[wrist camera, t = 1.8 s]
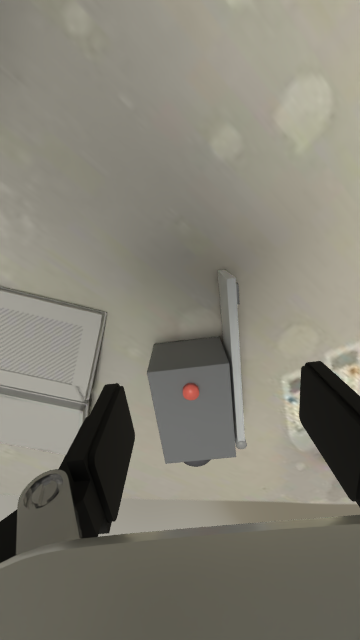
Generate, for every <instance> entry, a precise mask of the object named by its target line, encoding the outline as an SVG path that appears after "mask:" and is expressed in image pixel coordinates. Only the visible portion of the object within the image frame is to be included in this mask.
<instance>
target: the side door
mask: <svg viewBox="0 0 360 640" xmlns="http://www.w3.org/2000/svg"><path fill="white" fill-rule="evenodd" d="M218 282H219V295H220V307H221V320H222V332H223V345H224V351H225V354H226V356H227V359H228V362H229V368H230V381H231V395H232V409H233V423H234V436H235V443H236V447H237V448H238V449H244V448H245V447H246V446H247V443H246V440H245V435H244V417H243V399H242V381H241V363H240V345H239V327H238V308H237V304H239V286H238V283H237V282H236V278H235V277H234V276H233V275H232V274H230V273H229V272H228V271H226V270H225V269H224V270H218Z"/></svg>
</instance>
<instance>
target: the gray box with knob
mask: <svg viewBox="0 0 360 640" xmlns="http://www.w3.org/2000/svg"><path fill="white" fill-rule="evenodd" d="M147 375H148V380H149V385H150V390H151V395H152V400H153V404H154V409H155V414H156V419H157V424H158V429H159V434H160V439H161V444H162V449H163V453H164V458H165V463H166V464H167V463H178V462H184V463H185V464H187V465H189V466H194V467H198V466H202V465H205V464H206V463H208V462H209V461H210V460H211V459H220V458H230V457H236V450H235V436H234V423H233V409H232V395H231V381H230V368H229V362H228V359H227V356H226V354H225V351H224V348H223V346H222V343H221V340H220V338H219V337H210V338H202V339H193V340H185V341H177V342H168V343H160V344H154V346H153V350H152V354H151V359H150V363H149V367H148V371H147Z"/></svg>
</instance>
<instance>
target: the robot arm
mask: <svg viewBox="0 0 360 640" xmlns="http://www.w3.org/2000/svg"><path fill="white" fill-rule="evenodd" d="M299 417H300V421H301V423H302V425H303V427H304V428H305V430H306V431H307V433H308V434H309V436H310V438H311V439H312V441H313V442H314V444H315V445H316V447H317V449H318V450H319V452H320V453H321V455H322V456H323V458H324V460H325V461H326V463H327V464H328V466H329V467H330V469H331V470H332V472H333V474H334V475H335V477H336V478H337V480H338V481H339V483H340V485H341V486H342V488H343V489H344V491H345V492H346V494H347V495H348V497H349V498H350V499H351V500H352V501H356V502H357V504H358V505H359V507H360V396H359V395H358V394H357V393H356V392H355V391H353V390H352V389H351V388H350V387H349V386H348V385H347V384H346V383H345V382H343V381H342V380H341V379H340V378H339V377H338V376H337V375H336V374H335V373H333V372H332V371H331V370H330V369H329V368H328V367H327V366H326V365H325V364H323V363H322V362H321V361H316V362H307V363H306V364H305V366H302V368H301V386H300V409H299ZM134 440H135V432H134V428H133V424H132V420H131V416H130V411H129V407H128V403H127V399H126V395H125V391H124V387H123V386H120V385H119V384H118V383H116V384H107V385H105V386H104V388H103V390H102V392H101V394H100V396H99V398H98V400H97V402H96V404H95V406H94V408H93V410H92V412H91V414H90V416H88V417H86V418H85V420H84V422H83V423H82V425H81V427H80V429H79V431H78V433H77V435H76V437H75V439H74V441H73V443H72V444H71V446H70V448H69V450H68V452H67V454H66V456H65V458H64V460H63V462H62V464H61V466H60V467H59V469H55V470H50V471H47V472H45V473H42V474H41V475H39V476H38V477H36V478H35V479H34V480H33V481H31V482H30V483H29V484H28V485H27V486H26V488H25V489H24V490H23V492H22V494H21V495H20V497H19V501H18V509H17V510H16V511H14V512H13V513H11V514H10V515H9V516H8V517H6V518H5V519H3V520H2V521H1V522H0V640H360V515H353V516H339V517H325V518H312V519H299V520H287V521H274V522H260V523H248V524H236V525H223V526H212V527H199V528H187V529H176V530H164V531H153V532H141V533H130V534H121V535H112V536H102V537H98V534H104V533H109V531H110V527H111V523H112V521H115V520H116V518H117V515H118V510H119V507H120V502H121V498H122V493H123V489H124V484H125V480H126V476H127V471H128V467H129V462H130V458H131V454H132V449H133V445H134Z"/></svg>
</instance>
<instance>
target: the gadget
mask: <svg viewBox="0 0 360 640" xmlns="http://www.w3.org/2000/svg"><path fill="white" fill-rule="evenodd" d="M106 316H107V312H103V311H99V310H95V309H91V308H87V307H83V306H78V305H74V304H70V303H66V302H62V301H58V300H54V299H49V298H45V297H41V296H37V295H33V294H29V293H25V292H20V291H16V290H12V289H8V288H4V287H0V443H2V444H8V445H13V446H18V447H24V448H29V449H34V450H40V451H45V452H50V453H56V454H61V455H66V454H67V452H68V450H69V448H70V446H71V444H72V443H73V441H74V439H75V437H76V435H77V433H78V431H79V429H80V427H81V425H82V423H83V422H84V420H85V418H86V417H88V410H89V401H86V400H89V399H90V394H91V390H92V385H93V380H94V375H95V371H96V366H97V361H98V356H99V352H100V347H101V342H102V338H103V333H104V328H105V322H106Z"/></svg>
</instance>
